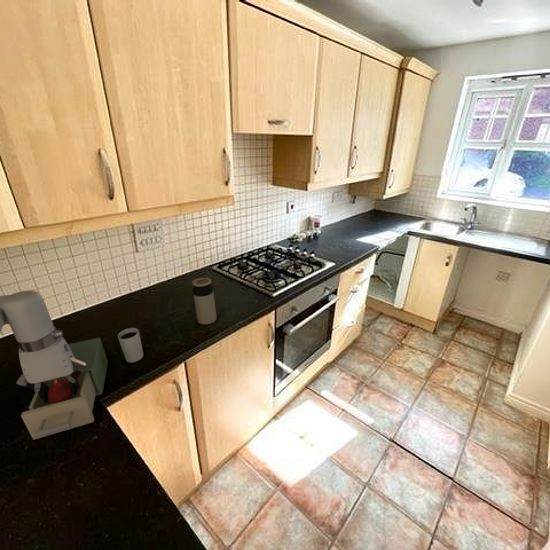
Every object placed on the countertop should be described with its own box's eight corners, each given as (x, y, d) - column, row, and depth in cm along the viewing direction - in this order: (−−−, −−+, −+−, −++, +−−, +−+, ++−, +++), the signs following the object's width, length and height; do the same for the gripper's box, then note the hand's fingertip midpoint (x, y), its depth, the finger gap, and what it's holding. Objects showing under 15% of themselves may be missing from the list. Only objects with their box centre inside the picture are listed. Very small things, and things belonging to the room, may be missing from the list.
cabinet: (102, 394, 90) (93, 367, 86) (44, 410, 86) (31, 382, 81) (107, 362, 104) (100, 337, 100) (58, 374, 99) (47, 348, 95)
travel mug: (220, 317, 129) (215, 279, 121) (208, 326, 122) (203, 287, 115) (205, 313, 132) (200, 276, 125) (193, 322, 126) (187, 283, 118)
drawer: (90, 437, 76) (81, 413, 73) (26, 457, 72) (13, 432, 68) (100, 384, 93) (93, 363, 89) (49, 398, 88) (39, 376, 85)
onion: (82, 399, 83) (73, 377, 79) (59, 414, 78) (49, 391, 75) (70, 391, 85) (61, 369, 82) (48, 406, 81) (38, 383, 78)
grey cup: (137, 348, 110) (131, 325, 106) (148, 355, 107) (142, 331, 103) (120, 359, 105) (113, 335, 101) (131, 365, 102) (124, 341, 98)
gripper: (81, 323, 79) (99, 376, 87) (1, 339, 74) (28, 395, 81) (76, 339, 73) (96, 395, 80) (-12, 358, 67) (18, 416, 75)
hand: (61, 394), depth 81 cm, fingers closed on onion, 5 cm apart
